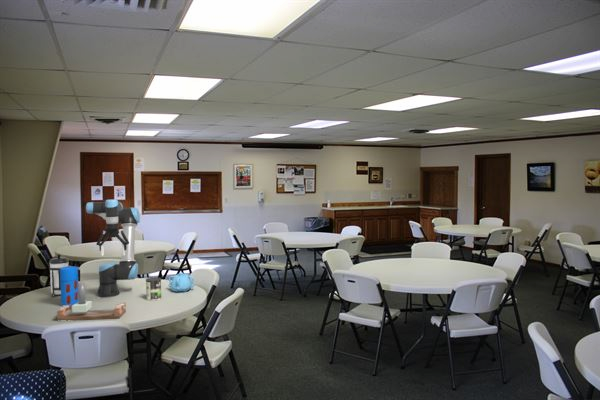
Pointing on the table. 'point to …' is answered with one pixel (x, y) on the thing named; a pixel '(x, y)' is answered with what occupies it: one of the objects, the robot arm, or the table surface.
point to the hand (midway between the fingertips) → (113, 255)
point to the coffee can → (153, 289)
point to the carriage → (81, 301)
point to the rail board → (89, 316)
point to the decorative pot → (181, 282)
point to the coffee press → (56, 273)
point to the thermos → (69, 285)
